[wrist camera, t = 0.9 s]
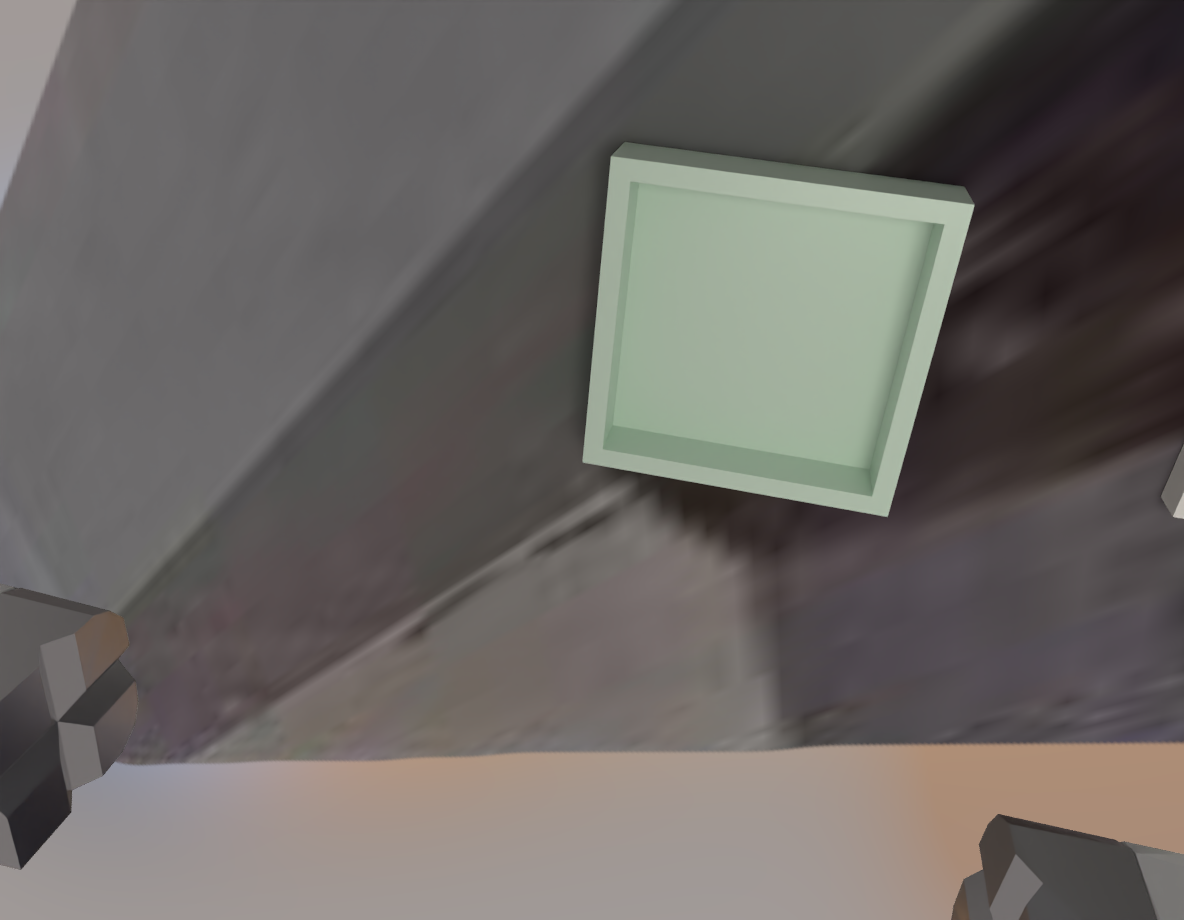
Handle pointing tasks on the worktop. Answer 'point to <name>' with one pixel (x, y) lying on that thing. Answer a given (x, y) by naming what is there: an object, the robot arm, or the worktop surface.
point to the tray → (767, 322)
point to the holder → (1175, 488)
